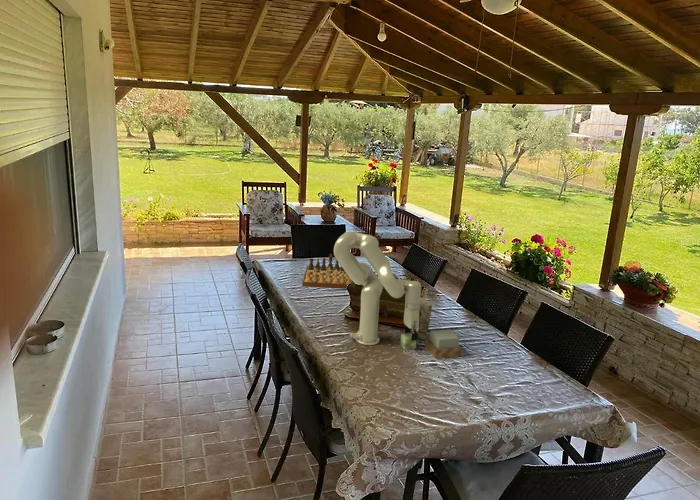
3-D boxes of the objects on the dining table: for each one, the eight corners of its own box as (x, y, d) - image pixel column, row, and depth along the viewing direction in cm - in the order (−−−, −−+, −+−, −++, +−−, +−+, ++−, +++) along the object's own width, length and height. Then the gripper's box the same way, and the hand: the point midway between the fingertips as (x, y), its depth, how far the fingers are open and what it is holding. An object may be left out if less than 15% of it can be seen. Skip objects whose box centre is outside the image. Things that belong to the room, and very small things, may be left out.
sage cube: (404, 349, 268) (405, 338, 267) (400, 344, 274) (401, 334, 272) (415, 348, 270) (416, 338, 268) (411, 344, 276) (412, 333, 274)
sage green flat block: (438, 348, 261) (439, 339, 260) (429, 339, 271) (430, 330, 270) (458, 347, 264) (459, 338, 263) (448, 338, 274) (449, 329, 273)
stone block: (430, 339, 283) (433, 304, 278) (418, 339, 281) (421, 305, 276) (419, 329, 295) (423, 295, 290) (408, 330, 293) (411, 296, 288)
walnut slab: (435, 359, 260) (436, 350, 259) (424, 347, 273) (425, 338, 272) (460, 357, 264) (461, 348, 263) (448, 345, 277) (449, 337, 276)
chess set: (360, 290, 356) (362, 269, 352) (302, 287, 356) (303, 266, 352) (359, 273, 395) (361, 254, 391) (307, 270, 394) (307, 251, 391)
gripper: (399, 300, 273) (398, 330, 277) (411, 311, 257) (410, 343, 261) (413, 299, 275) (411, 329, 279) (426, 310, 259) (424, 342, 263)
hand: (410, 336), depth 270 cm, fingers open, 9 cm apart
